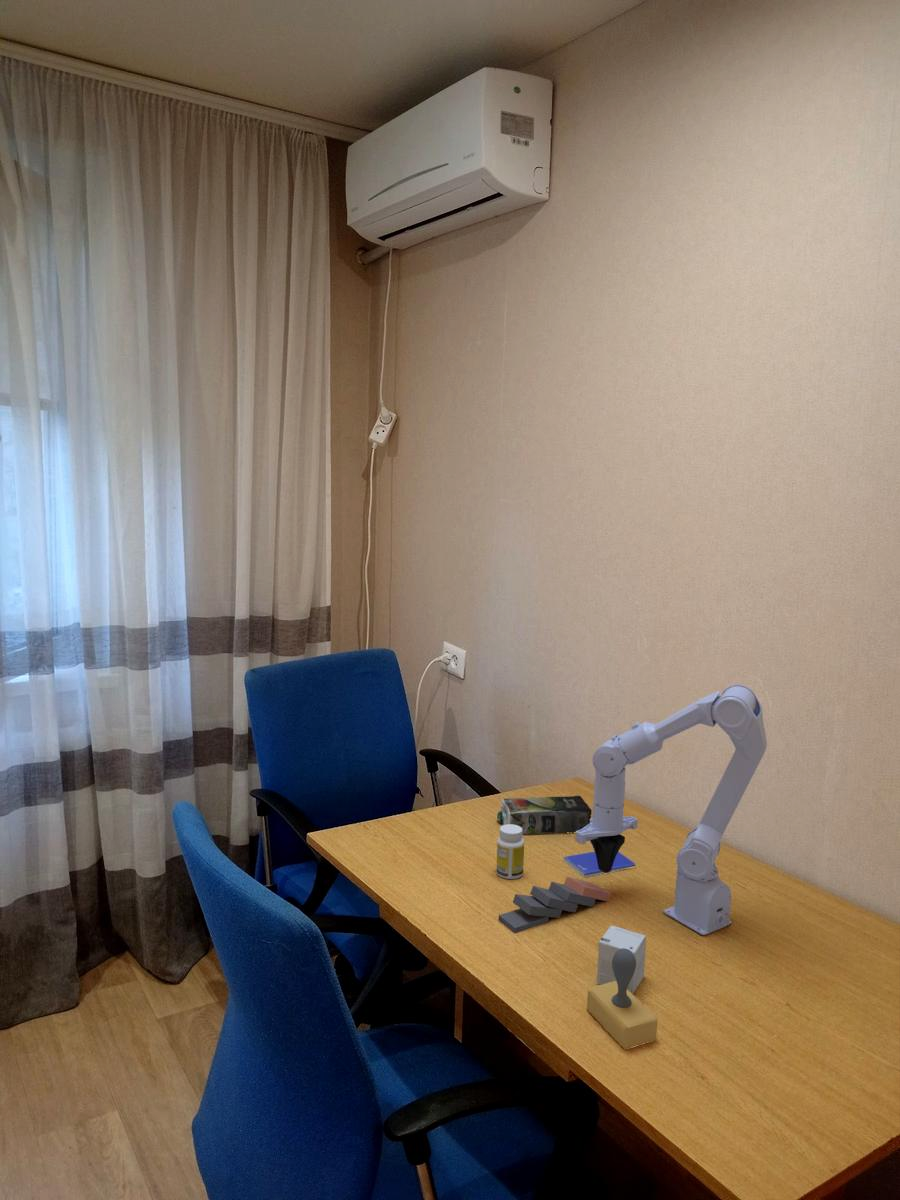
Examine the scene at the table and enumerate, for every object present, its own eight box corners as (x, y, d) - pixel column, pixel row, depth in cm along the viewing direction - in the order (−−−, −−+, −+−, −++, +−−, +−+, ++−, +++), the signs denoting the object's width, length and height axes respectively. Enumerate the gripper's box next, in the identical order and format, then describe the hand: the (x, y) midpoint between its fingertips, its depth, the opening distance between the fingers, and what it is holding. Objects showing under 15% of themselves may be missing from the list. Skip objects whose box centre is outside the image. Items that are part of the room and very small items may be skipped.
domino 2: (545, 897, 158) (515, 894, 154) (562, 909, 154) (531, 906, 150) (542, 905, 158) (512, 902, 154) (559, 918, 154) (528, 914, 150)
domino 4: (577, 887, 162) (551, 881, 158) (595, 898, 158) (569, 892, 154) (574, 895, 162) (548, 889, 158) (592, 907, 158) (566, 901, 154)
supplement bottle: (523, 868, 173) (525, 824, 171) (522, 880, 168) (524, 835, 166) (496, 866, 173) (498, 822, 172) (495, 878, 168) (497, 833, 167)
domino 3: (560, 892, 160) (533, 885, 156) (578, 904, 156) (550, 897, 152) (557, 900, 160) (530, 893, 156) (574, 912, 156) (547, 906, 152)
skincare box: (644, 977, 137) (647, 934, 135) (632, 996, 131) (635, 952, 130) (608, 965, 140) (611, 923, 139) (595, 983, 134) (598, 940, 133)
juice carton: (504, 837, 188) (506, 811, 187) (495, 820, 197) (496, 795, 197) (591, 835, 191) (592, 809, 190) (578, 818, 201) (579, 793, 200)
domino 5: (591, 882, 165) (566, 876, 160) (610, 893, 161) (585, 887, 156) (589, 890, 165) (563, 884, 160) (607, 901, 160) (582, 895, 156)
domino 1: (531, 904, 156) (498, 915, 152) (548, 917, 152) (515, 928, 148) (531, 912, 157) (498, 923, 153) (548, 925, 152) (514, 936, 148)
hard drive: (584, 873, 169) (635, 863, 174) (563, 855, 177) (612, 847, 182) (584, 880, 170) (635, 870, 175) (563, 862, 177) (612, 854, 182)
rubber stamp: (585, 1009, 128) (589, 936, 126) (617, 1001, 130) (621, 929, 128) (624, 1051, 119) (629, 973, 117) (657, 1041, 121) (663, 964, 119)
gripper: (620, 789, 168) (616, 853, 170) (565, 803, 160) (562, 870, 162) (647, 801, 162) (642, 867, 164) (591, 816, 154) (587, 886, 156)
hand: (604, 870), depth 162 cm, fingers closed
